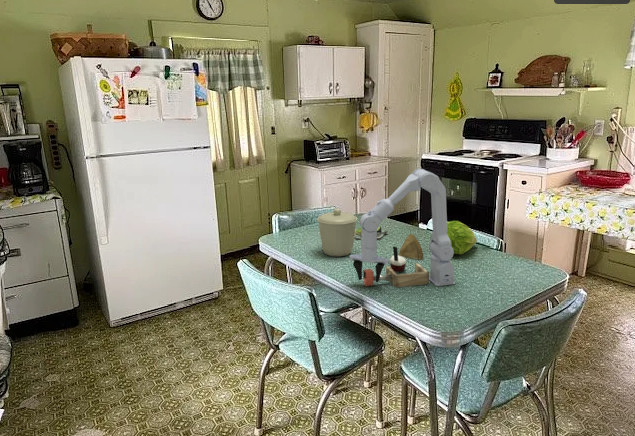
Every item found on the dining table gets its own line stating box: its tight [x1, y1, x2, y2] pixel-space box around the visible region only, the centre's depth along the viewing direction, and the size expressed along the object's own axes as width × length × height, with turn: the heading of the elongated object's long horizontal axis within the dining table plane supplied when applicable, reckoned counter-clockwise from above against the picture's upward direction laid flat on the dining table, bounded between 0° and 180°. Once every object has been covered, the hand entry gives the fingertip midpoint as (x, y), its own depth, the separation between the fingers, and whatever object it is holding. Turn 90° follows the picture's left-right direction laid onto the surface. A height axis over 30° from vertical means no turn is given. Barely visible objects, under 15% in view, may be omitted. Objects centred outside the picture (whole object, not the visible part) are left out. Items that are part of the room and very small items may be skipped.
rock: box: [398, 233, 424, 261], centre depth 201 cm, size 11×9×10 cm
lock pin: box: [362, 268, 393, 287], centre depth 173 cm, size 3×11×5 cm, turn 102°
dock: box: [385, 263, 430, 288], centre depth 177 cm, size 10×13×4 cm
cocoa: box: [389, 246, 407, 273], centre depth 185 cm, size 10×6×12 cm, turn 132°
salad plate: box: [354, 224, 389, 241], centre depth 233 cm, size 19×18×5 cm
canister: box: [316, 208, 358, 257], centre depth 207 cm, size 18×18×21 cm
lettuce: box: [447, 220, 478, 255], centre depth 206 cm, size 15×25×16 cm
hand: (368, 280), depth 173 cm, fingers open, 6 cm apart
